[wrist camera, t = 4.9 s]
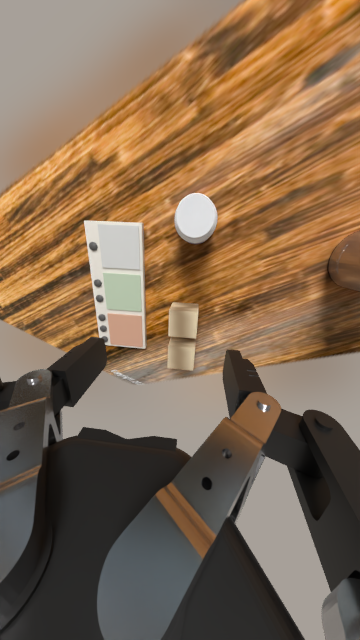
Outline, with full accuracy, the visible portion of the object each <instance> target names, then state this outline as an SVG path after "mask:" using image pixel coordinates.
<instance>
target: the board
mask: <svg viewBox="0 0 360 640" xmlns="http://www.w3.org/2000/svg"><path fill="white" fill-rule="evenodd" d="M84 224H85V232H86V240H87V247H88V255H89V262H90V270H91V277H92V285H93V292H94V300H95V307H96V315H97V322H98V330H99V338H103V339H104V340H105V345H110V346H121V347H132V348H142V349H145V348H146V306H145V266H144V226H143V223H132V222H108V221H84Z"/></svg>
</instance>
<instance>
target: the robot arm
mask: <svg viewBox="0 0 360 640" xmlns="http://www.w3.org/2000/svg"><path fill="white" fill-rule="evenodd" d="M329 274H330V277H331V279H332V280H333V281H334V282H335V283H336V284H338V285H339V286H342V287H345V288H349V289H352V290H356V291H359V292H360V231H357V232H354V233H353V234H351V235H349V236H347V237H346V238H345V239H344V240H342V241H341V242H340V243H339V244H338V246H337V247H336V248H335V250H334V251H333V253H332V255H331V257H330V261H329ZM106 362H107V356H106V347H105V340H104V339H103V338H97V337H90V338H89V339H88V340H87V341H85V342H84V343H83V344H80V345H78V346H76V347H74V348H73V349H71V350H70V351H69V352H68V353H66V354H65V355H64V356H63V357H61V358H60V359H59V360H58V361H56V362H55V363H54V364H53V365H51V366H50V367H49V368H47V369H40V370H35V371H32V372H29V373H27V374H25V375H23V376H22V377H20V378H19V379H18V380H17V381H13V382H5V383H2V381H1V379H0V640H305V639H304V638H303V636H302V634H301V632H300V631H299V629H298V627H297V626H296V624H295V622H294V621H293V619H292V618H291V616H290V614H289V612H288V611H287V609H286V607H285V606H284V604H283V602H282V601H281V599H280V598H279V596H278V594H277V593H276V591H275V589H274V588H273V586H272V585H271V583H270V581H269V580H268V578H267V576H266V574H265V573H264V571H263V569H262V568H261V566H260V565H259V563H258V561H257V559H256V558H255V556H254V555H253V553H252V551H251V550H250V548H249V547H248V545H247V543H246V541H245V540H244V538H243V536H242V535H241V533H240V531H239V530H238V528H237V527H236V525H235V524H236V522H237V519H238V517H239V515H240V513H241V510H242V508H243V506H244V504H245V501H246V499H247V496H248V493H249V491H250V489H251V487H252V484H253V482H254V480H255V478H256V476H257V474H258V472H259V469H260V467H261V465H262V463H263V461H264V459H265V456H267V457H269V458H271V459H273V460H275V461H278V462H280V463H282V464H285V465H287V467H288V470H289V473H290V476H291V479H292V481H293V484H294V487H295V490H296V493H297V496H298V499H299V502H300V504H301V507H302V510H303V513H304V516H305V519H306V522H307V524H308V527H309V530H310V533H311V536H312V539H313V542H314V544H315V547H316V550H317V553H318V556H319V558H320V562H321V565H322V567H323V570H324V573H325V576H326V579H327V582H328V584H329V588H330V590H331V593H330V594H329V595H328V596H327V597H326V598H325V600H324V602H323V605H322V624H323V629H324V633H325V639H326V640H360V450H359V449H358V447H357V446H356V445H355V443H354V442H353V441H352V440H351V438H350V437H349V435H348V434H347V433H346V431H345V430H344V428H343V427H342V426H341V425H340V424H339V423H338V422H337V421H336V420H335V419H333V418H332V417H331V416H329V415H327V414H325V413H323V412H320V411H317V410H307V411H305V412H304V414H303V416H300V415H297V414H294V413H291V412H288V411H286V410H283V409H281V406H280V404H279V403H278V402H277V400H275V399H274V398H273V397H271V396H270V395H268V394H267V393H266V390H265V388H264V386H263V384H262V382H261V380H260V378H259V375H258V373H257V372H256V369H255V367H254V365H253V364H252V363H251V362H250V361H249V360H248V359H242V356H241V353H240V351H238V350H227V351H226V355H225V361H224V367H223V383H224V389H225V394H226V400H227V405H228V411H229V416H230V419H229V418H228V417H225V418H224V419H223V420H222V421H221V422H220V424H219V425H218V426H217V427H216V428H215V430H214V431H213V432H212V433H211V434H210V436H209V437H208V438H207V439H206V440H205V442H204V443H203V444H202V445H201V446H200V448H199V449H198V450H197V451H196V453H195V454H194V455H193V456H192V457H190V456H189V455H188V454H187V453H185V452H184V451H182V450H180V449H178V448H176V445H177V439H172V438H164V437H156V436H150V437H143V438H134V439H125V438H122V437H120V436H118V435H115V434H113V433H111V432H109V431H107V430H101V429H94V428H86V427H83V428H82V430H81V432H80V433H79V434H78V436H73V437H69V438H66V439H63V438H62V437H63V435H62V412H61V409H62V408H63V406H69V407H74V405H75V404H76V403H77V402H78V400H79V399H80V398H81V397H82V395H83V394H84V393H85V392H86V390H87V389H88V388H89V387H90V385H91V384H92V383H93V381H94V380H95V379H96V377H97V376H98V375H99V374H100V373H101V371H102V370H103V369H104V367H105V366H106Z"/></svg>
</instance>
